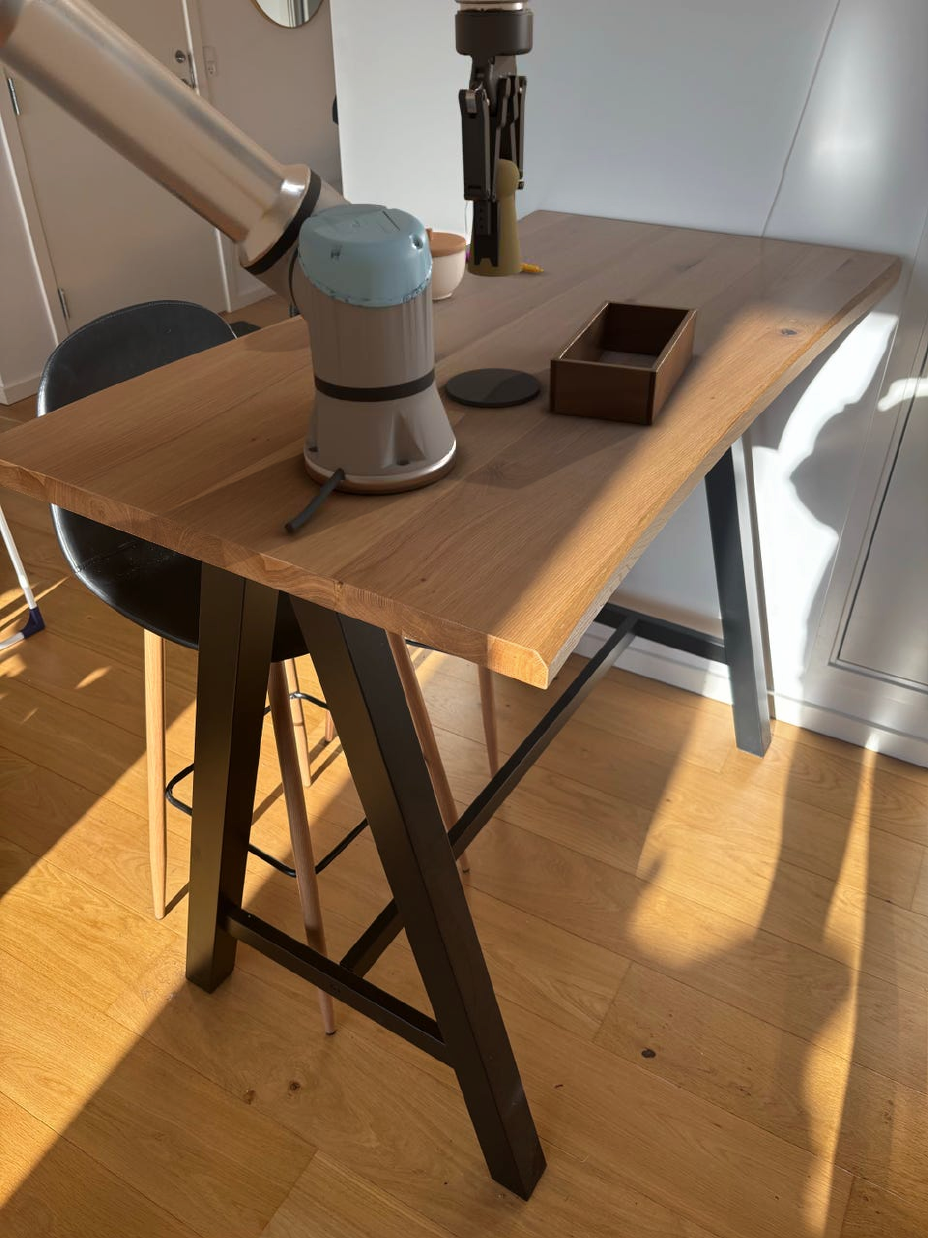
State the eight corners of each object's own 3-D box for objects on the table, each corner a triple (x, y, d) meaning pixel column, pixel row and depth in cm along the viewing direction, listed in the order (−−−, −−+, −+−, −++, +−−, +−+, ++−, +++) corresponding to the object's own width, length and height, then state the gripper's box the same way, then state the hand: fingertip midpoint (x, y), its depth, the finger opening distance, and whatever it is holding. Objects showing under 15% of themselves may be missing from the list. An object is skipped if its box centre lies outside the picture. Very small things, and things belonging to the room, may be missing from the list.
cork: (492, 280, 104) (492, 167, 98) (455, 269, 108) (453, 160, 101) (533, 269, 107) (536, 159, 101) (496, 258, 111) (496, 152, 105)
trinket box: (442, 308, 141) (440, 240, 136) (381, 298, 146) (377, 232, 140) (480, 289, 149) (479, 224, 143) (421, 280, 153) (418, 217, 148)
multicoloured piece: (458, 259, 162) (539, 274, 154) (459, 251, 162) (540, 266, 154) (468, 259, 164) (548, 274, 156) (469, 252, 164) (549, 266, 156)
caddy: (651, 425, 106) (656, 371, 102) (548, 411, 109) (550, 359, 106) (691, 356, 123) (697, 308, 119) (601, 346, 126) (604, 299, 123)
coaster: (522, 412, 109) (522, 407, 109) (431, 400, 113) (431, 395, 112) (552, 378, 118) (552, 373, 117) (466, 368, 121) (466, 363, 121)
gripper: (500, 11, 86) (500, 283, 99) (558, 1, 99) (551, 243, 112) (421, 11, 88) (432, 277, 101) (488, 1, 101) (489, 238, 114)
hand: (494, 258), depth 107 cm, fingers closed on cork, 4 cm apart
